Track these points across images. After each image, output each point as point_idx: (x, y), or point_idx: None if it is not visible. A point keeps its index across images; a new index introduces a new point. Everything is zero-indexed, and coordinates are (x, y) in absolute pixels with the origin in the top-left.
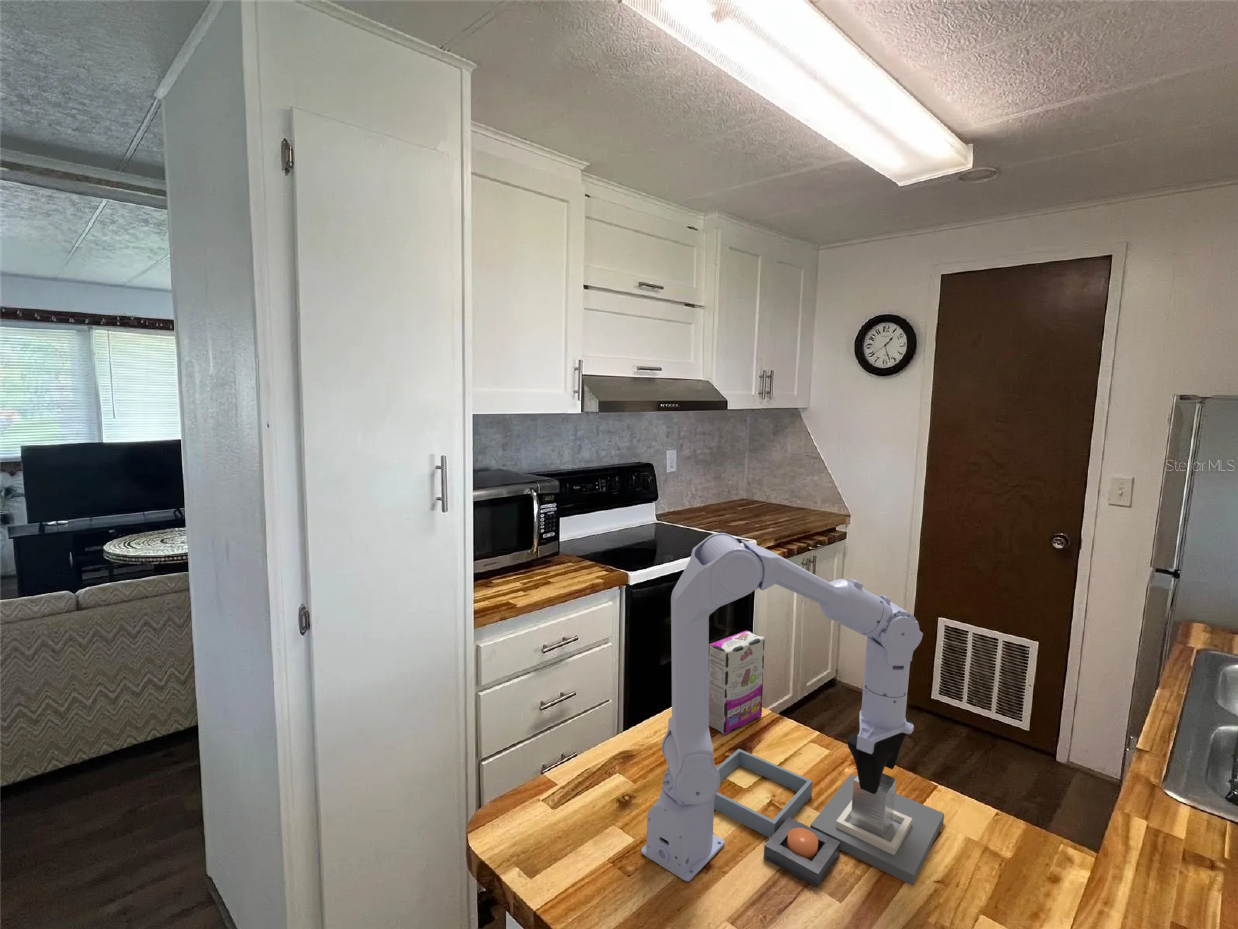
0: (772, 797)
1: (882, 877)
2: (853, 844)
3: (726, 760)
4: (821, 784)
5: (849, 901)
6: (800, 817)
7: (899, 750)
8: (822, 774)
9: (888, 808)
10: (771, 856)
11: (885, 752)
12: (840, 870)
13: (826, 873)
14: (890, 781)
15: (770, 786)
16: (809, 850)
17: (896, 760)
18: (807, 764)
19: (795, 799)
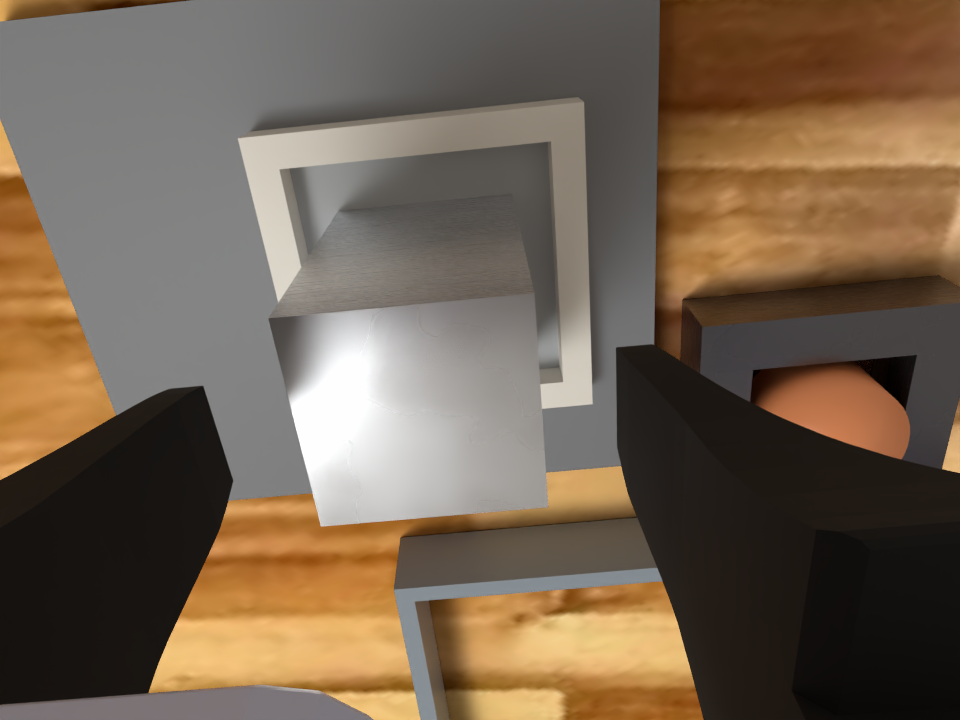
0: (534, 616)
1: (687, 97)
2: (645, 281)
3: None
4: (292, 546)
5: (938, 142)
6: (565, 504)
7: (66, 463)
8: (225, 572)
9: (438, 246)
10: None
11: (955, 619)
12: (769, 255)
13: (835, 287)
14: (347, 335)
15: (478, 648)
16: (887, 392)
17: (139, 414)
18: (221, 633)
19: (581, 576)
